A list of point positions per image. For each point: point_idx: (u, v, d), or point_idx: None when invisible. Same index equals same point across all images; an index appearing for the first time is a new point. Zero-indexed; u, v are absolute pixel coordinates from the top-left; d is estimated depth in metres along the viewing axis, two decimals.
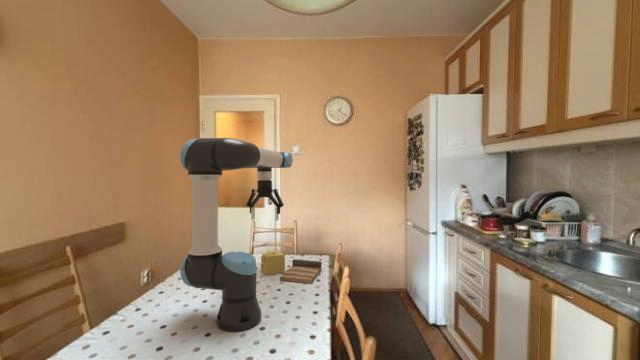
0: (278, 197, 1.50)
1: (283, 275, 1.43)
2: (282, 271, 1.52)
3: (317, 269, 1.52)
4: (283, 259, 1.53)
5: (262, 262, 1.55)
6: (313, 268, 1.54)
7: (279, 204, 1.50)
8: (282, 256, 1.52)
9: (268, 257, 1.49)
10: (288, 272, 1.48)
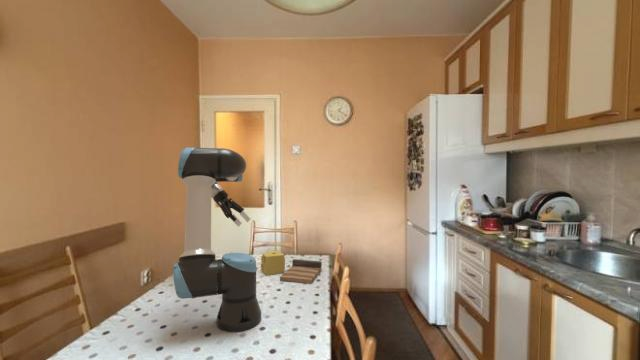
0: (236, 203, 1.64)
1: (283, 275, 1.43)
2: (282, 271, 1.52)
3: (317, 269, 1.52)
4: (283, 259, 1.53)
5: (262, 262, 1.55)
6: (313, 268, 1.54)
7: (241, 207, 1.64)
8: (282, 256, 1.52)
9: (268, 257, 1.49)
10: (288, 272, 1.48)
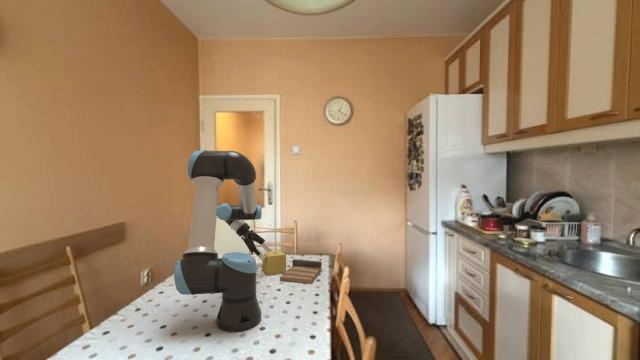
0: (257, 234, 1.65)
1: (283, 275, 1.43)
2: (283, 271, 1.53)
3: (317, 269, 1.52)
4: (284, 259, 1.53)
5: (263, 262, 1.55)
6: (313, 268, 1.54)
7: (262, 239, 1.65)
8: (284, 256, 1.53)
9: (270, 257, 1.49)
10: (288, 272, 1.48)
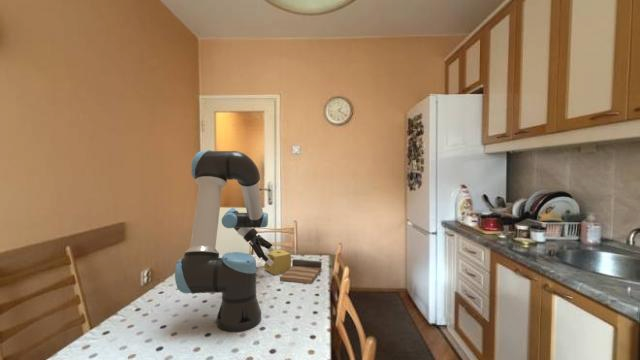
0: (264, 239, 1.64)
1: (283, 275, 1.43)
2: None
3: (317, 269, 1.52)
4: (289, 258, 1.55)
5: None
6: (313, 268, 1.54)
7: (269, 243, 1.64)
8: (289, 255, 1.54)
9: (277, 257, 1.49)
10: (288, 272, 1.48)
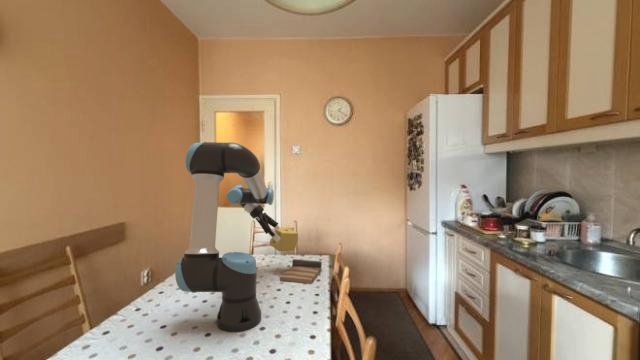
0: (270, 217, 1.63)
1: (283, 275, 1.43)
2: (293, 249, 1.54)
3: (317, 269, 1.52)
4: (296, 237, 1.54)
5: None
6: (313, 268, 1.54)
7: (275, 222, 1.63)
8: (296, 235, 1.53)
9: (284, 234, 1.48)
10: (288, 272, 1.48)
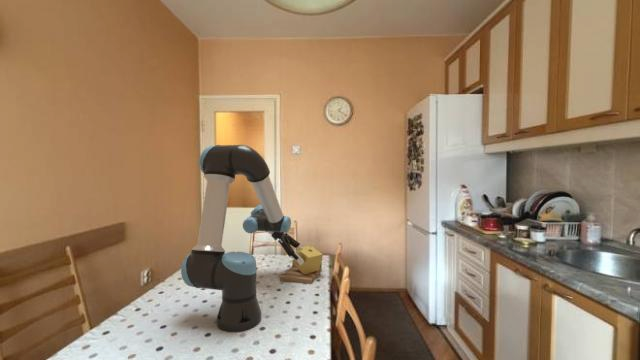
0: None
1: (283, 275, 1.43)
2: (317, 269, 1.49)
3: None
4: (321, 258, 1.48)
5: None
6: None
7: (297, 242, 1.58)
8: (321, 256, 1.47)
9: (310, 258, 1.42)
10: (288, 272, 1.48)
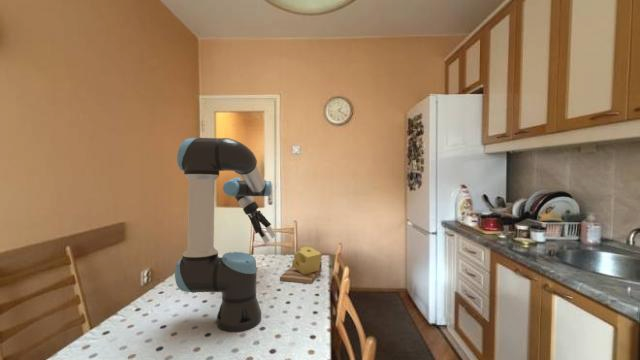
0: None
1: (283, 275, 1.43)
2: (317, 269, 1.49)
3: None
4: (320, 258, 1.48)
5: (296, 260, 1.47)
6: None
7: (268, 222, 1.57)
8: (320, 255, 1.48)
9: (309, 257, 1.42)
10: (288, 272, 1.48)
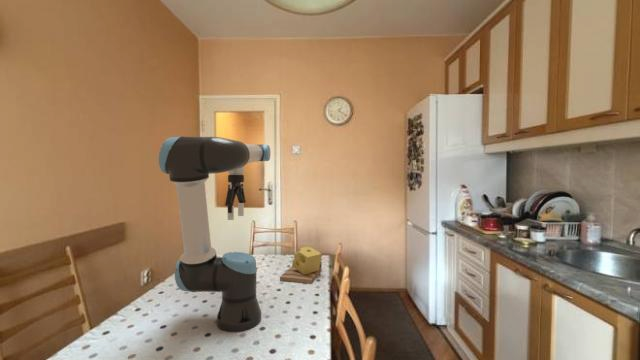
0: (243, 192, 1.49)
1: (283, 275, 1.43)
2: (317, 269, 1.49)
3: None
4: (320, 258, 1.48)
5: (296, 260, 1.47)
6: None
7: (244, 199, 1.50)
8: (320, 255, 1.48)
9: (309, 257, 1.42)
10: (288, 272, 1.48)
